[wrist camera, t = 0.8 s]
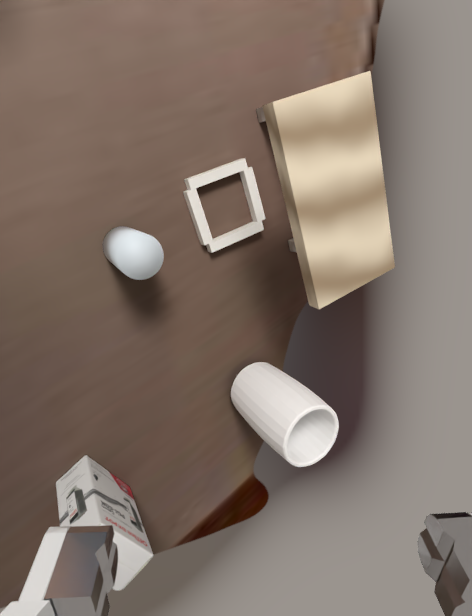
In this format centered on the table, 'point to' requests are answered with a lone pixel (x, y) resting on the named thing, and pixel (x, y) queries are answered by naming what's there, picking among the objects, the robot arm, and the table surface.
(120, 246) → the canister
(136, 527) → the ink box
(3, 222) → the table surface
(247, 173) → the white square frame
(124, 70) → the table surface
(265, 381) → the cup
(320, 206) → the overhang shelf
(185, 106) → the table surface
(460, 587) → the robot arm
